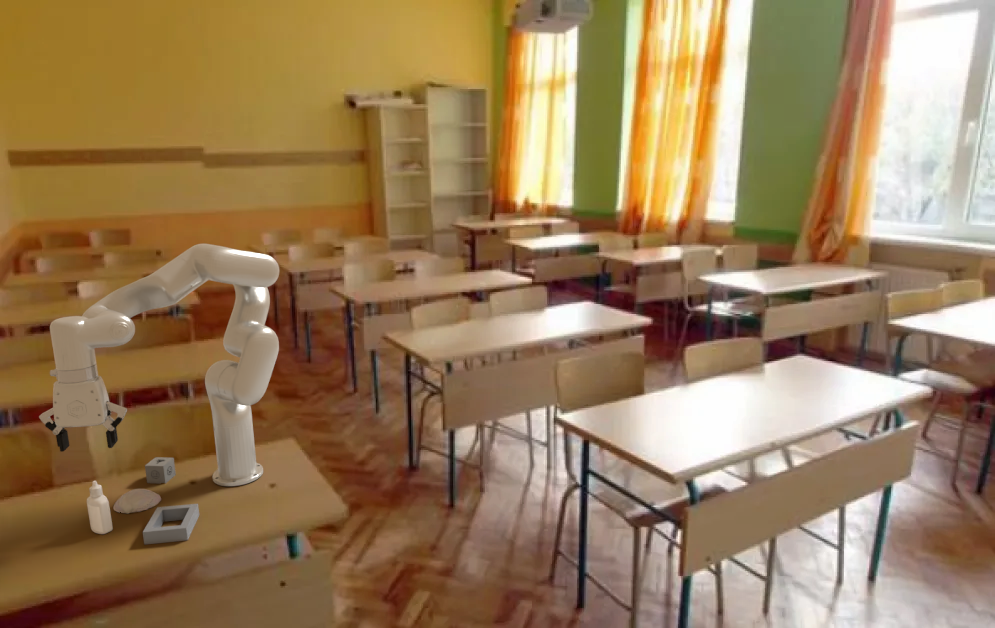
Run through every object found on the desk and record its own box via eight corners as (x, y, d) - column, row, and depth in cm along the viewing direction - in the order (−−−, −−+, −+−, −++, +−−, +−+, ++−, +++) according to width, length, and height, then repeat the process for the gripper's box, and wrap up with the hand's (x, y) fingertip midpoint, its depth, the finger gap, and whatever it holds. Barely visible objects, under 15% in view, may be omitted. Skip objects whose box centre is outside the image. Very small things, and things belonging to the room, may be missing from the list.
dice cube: (175, 475, 186) (173, 457, 184) (165, 483, 181) (163, 466, 180) (157, 474, 186) (155, 457, 185) (147, 483, 181) (144, 465, 180)
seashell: (102, 505, 164) (121, 477, 173) (108, 523, 167) (126, 495, 176) (146, 503, 165) (162, 476, 174) (151, 521, 167) (167, 493, 176)
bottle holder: (158, 518, 164) (157, 507, 163) (199, 515, 165) (198, 503, 164) (144, 544, 153) (142, 532, 152) (187, 540, 155) (186, 528, 154)
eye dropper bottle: (91, 537, 156) (83, 488, 153) (91, 526, 161) (83, 478, 158) (113, 532, 158) (105, 484, 155) (112, 521, 163) (105, 474, 160)
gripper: (25, 381, 145) (38, 457, 149) (114, 376, 148) (125, 451, 152) (41, 370, 152) (53, 443, 156) (126, 366, 155) (136, 437, 159)
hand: (88, 447), depth 154 cm, fingers open, 9 cm apart
